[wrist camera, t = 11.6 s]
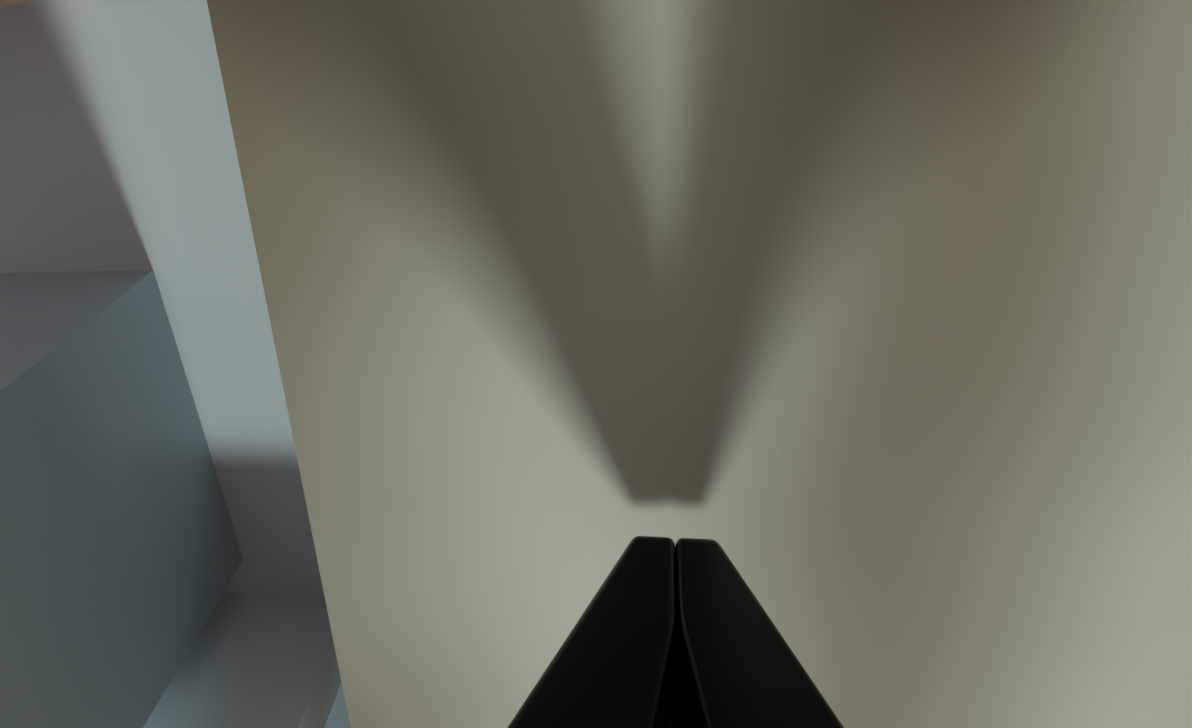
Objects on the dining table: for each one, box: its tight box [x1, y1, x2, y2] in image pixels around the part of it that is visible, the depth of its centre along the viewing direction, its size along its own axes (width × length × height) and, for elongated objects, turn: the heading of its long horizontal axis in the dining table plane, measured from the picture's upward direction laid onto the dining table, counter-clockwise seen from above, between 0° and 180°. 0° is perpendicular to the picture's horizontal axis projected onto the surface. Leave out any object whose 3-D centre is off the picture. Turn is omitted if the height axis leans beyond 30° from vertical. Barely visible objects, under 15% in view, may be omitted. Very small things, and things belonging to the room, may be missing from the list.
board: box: [207, 0, 1192, 728], centre depth 9 cm, size 14×15×2 cm
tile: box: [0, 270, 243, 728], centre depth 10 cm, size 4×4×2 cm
